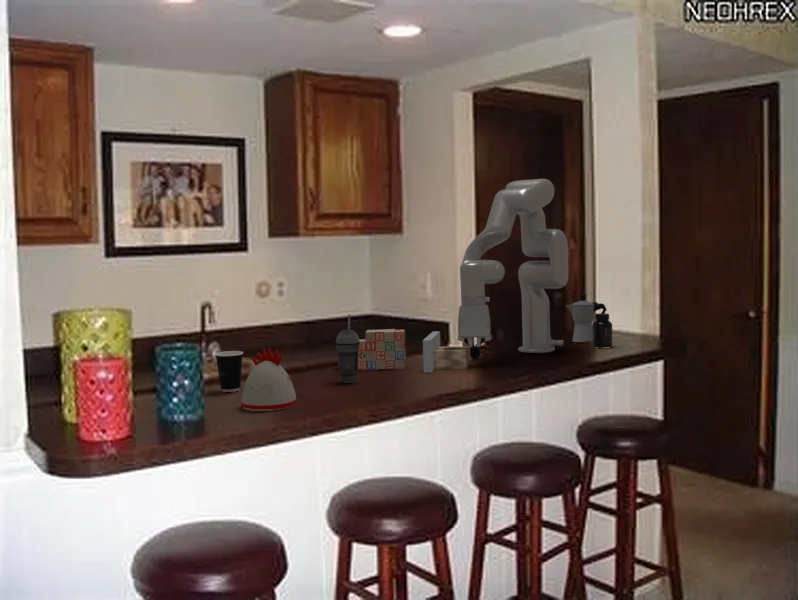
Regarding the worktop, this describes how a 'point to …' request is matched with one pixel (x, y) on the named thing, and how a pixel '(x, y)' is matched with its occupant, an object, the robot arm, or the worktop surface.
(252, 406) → the kitchen timer
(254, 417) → the worktop surface
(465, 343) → the dowel
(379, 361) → the stack of blocks
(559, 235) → the robot arm
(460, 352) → the socket block
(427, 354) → the backstop wall
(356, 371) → the beverage cup
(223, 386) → the dixie cup
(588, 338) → the coffee maker
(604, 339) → the supplement bottle
